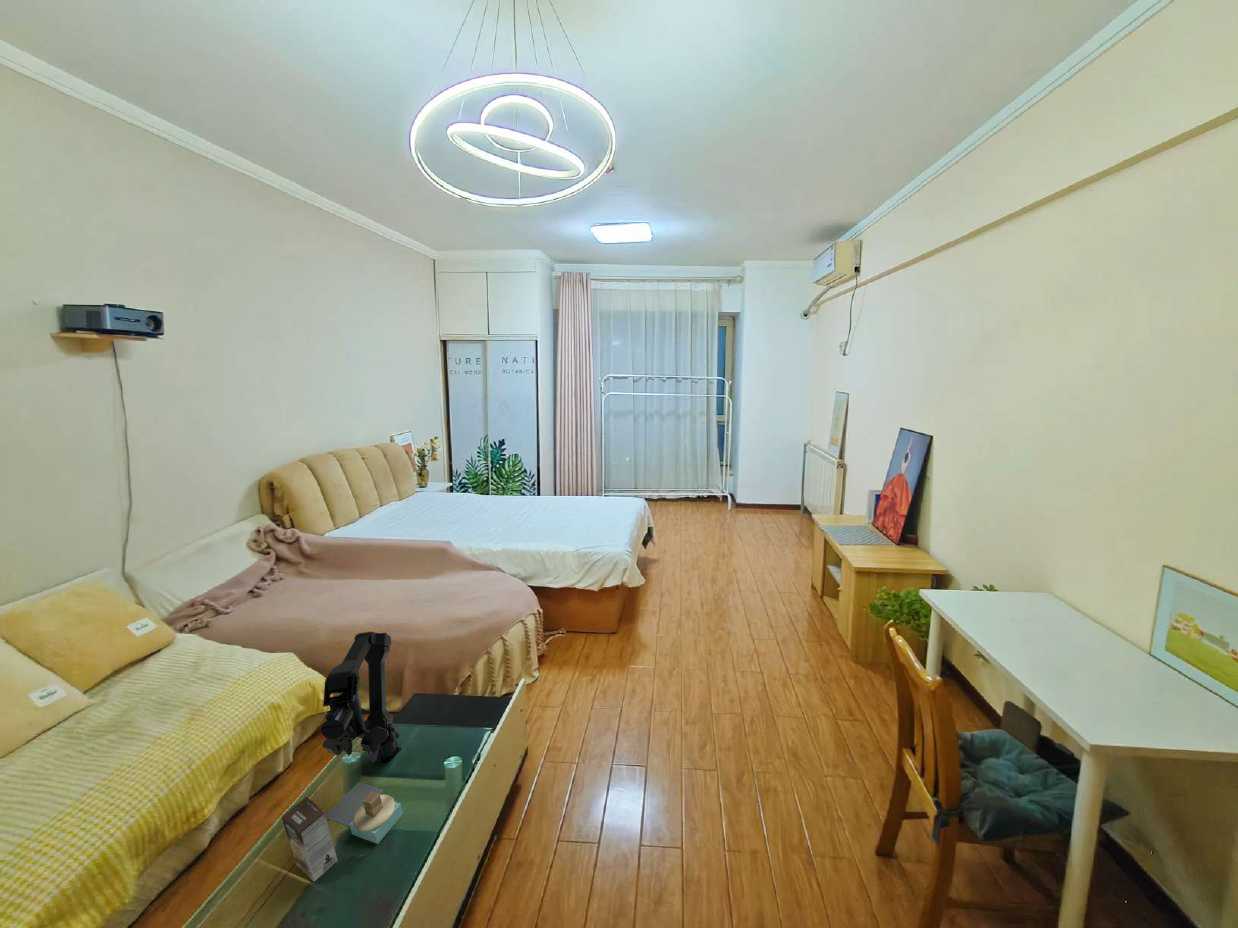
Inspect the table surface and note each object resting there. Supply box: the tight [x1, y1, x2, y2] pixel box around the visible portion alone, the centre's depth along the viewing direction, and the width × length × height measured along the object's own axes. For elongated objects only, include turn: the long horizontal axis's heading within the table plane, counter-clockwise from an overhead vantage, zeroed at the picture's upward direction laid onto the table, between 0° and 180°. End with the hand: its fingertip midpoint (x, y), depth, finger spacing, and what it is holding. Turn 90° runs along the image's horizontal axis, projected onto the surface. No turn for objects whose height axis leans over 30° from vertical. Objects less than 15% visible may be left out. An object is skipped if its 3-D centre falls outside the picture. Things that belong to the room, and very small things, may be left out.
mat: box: [325, 781, 385, 828], centre depth 146 cm, size 12×10×1 cm
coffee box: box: [281, 796, 338, 882], centre depth 128 cm, size 9×6×16 cm
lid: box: [354, 792, 396, 831], centre depth 138 cm, size 10×10×5 cm
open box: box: [349, 801, 404, 845], centre depth 139 cm, size 9×9×4 cm
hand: (361, 757), depth 146 cm, fingers open, 9 cm apart
